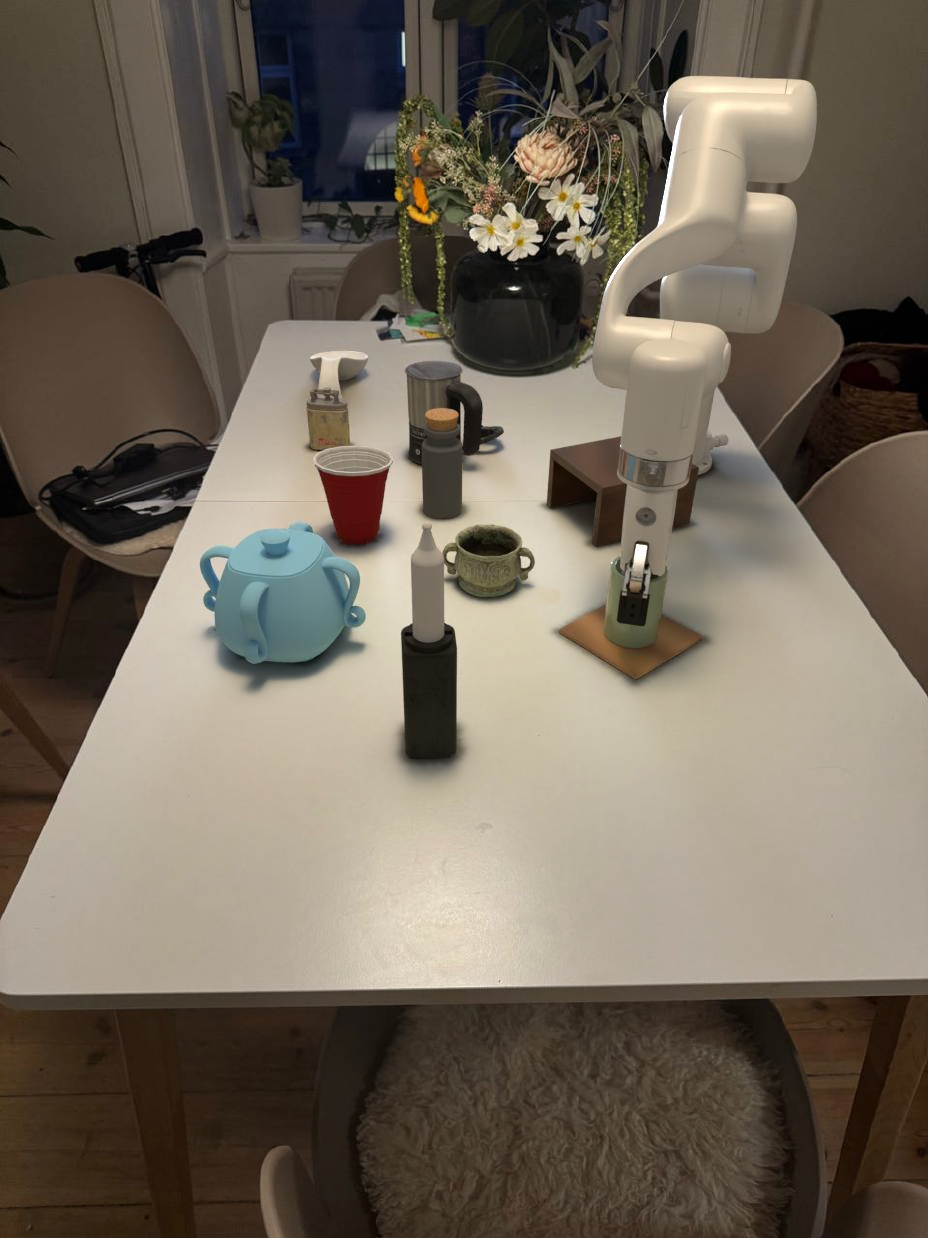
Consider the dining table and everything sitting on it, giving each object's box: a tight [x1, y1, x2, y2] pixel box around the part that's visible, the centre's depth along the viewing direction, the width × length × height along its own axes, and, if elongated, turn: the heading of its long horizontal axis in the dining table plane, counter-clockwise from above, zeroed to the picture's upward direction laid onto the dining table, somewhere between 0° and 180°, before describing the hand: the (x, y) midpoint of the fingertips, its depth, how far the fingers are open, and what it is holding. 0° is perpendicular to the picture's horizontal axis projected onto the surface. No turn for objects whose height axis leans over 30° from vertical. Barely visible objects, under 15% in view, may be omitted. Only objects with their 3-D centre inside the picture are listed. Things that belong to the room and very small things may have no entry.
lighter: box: [306, 387, 352, 451], centre depth 147 cm, size 7×4×10 cm, turn 82°
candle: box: [400, 521, 458, 760], centre depth 82 cm, size 5×5×25 cm
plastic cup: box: [312, 445, 394, 546], centre depth 121 cm, size 11×11×12 cm
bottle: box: [421, 408, 463, 520], centre depth 127 cm, size 6×6×15 cm
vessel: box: [441, 524, 536, 598], centre depth 113 cm, size 12×9×6 cm
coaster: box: [558, 604, 703, 681], centre depth 105 cm, size 12×12×1 cm
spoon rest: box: [309, 350, 369, 399], centre depth 173 cm, size 24×12×7 cm, turn 1°
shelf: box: [546, 435, 699, 547], centre depth 128 cm, size 16×14×9 cm
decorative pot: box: [199, 521, 367, 664], centre depth 100 cm, size 16×16×14 cm
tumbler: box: [603, 555, 669, 648], centre depth 102 cm, size 6×6×9 cm
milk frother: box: [404, 360, 505, 465], centre depth 145 cm, size 14×16×15 cm
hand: (634, 601), depth 102 cm, fingers open, 8 cm apart
